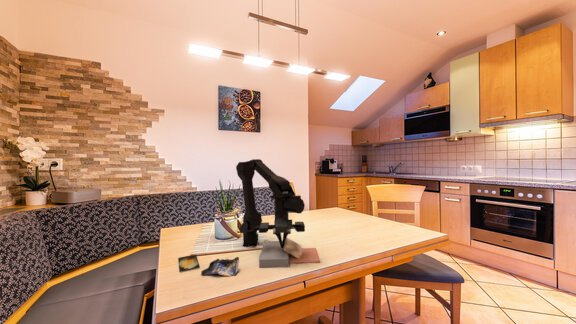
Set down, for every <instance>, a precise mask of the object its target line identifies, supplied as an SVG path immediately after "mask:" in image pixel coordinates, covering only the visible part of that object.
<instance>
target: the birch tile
mask: <svg viewBox="0 0 576 324" xmlns="http://www.w3.org/2000/svg"><path fill="white" fill-rule="evenodd" d="M301 248H302V245H301V244H300V243H297V242H296V241H294V240H292V239H291V238H289V237H287V238H286V240H285V244H284V251H286V252H288V255H289V254H291V255H293V256H295V257H296V258H298V259H299V258H300V256H301V255H302V250H301Z"/></svg>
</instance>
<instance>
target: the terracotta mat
mask: <svg viewBox="0 0 576 324" xmlns="http://www.w3.org/2000/svg"><path fill="white" fill-rule="evenodd" d="M301 250H302V255H301V256H300V258H299V259H298V258H296V257H295V256H293V255H291V254H289V253H288V259H289V264H314V263H316V264H317V263H321V259H320V256H319V253H318V250H317V248H316V247H301Z"/></svg>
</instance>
